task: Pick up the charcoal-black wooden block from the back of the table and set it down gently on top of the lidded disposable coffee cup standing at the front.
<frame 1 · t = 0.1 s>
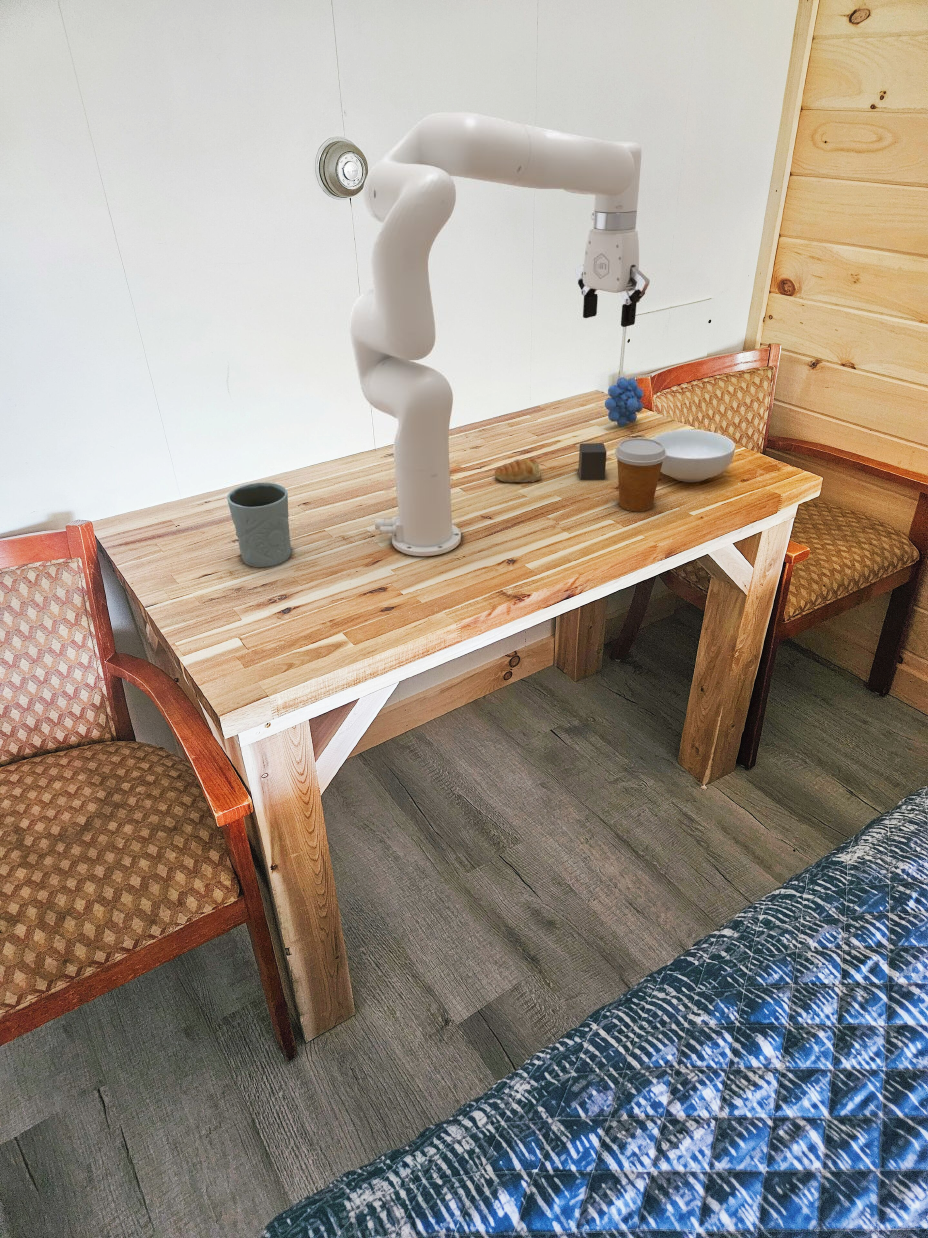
hand: (608, 320, 155), 31 cm above the table, tool pointing down, fingers open, 9 cm apart
disposable coffee cup: (635, 505, 160), on the table
cereal bowl: (687, 475, 171), on the table
grey embossed cup: (268, 556, 146), on the table
black block: (591, 474, 172), on the table
grapes: (625, 428, 196), on the table
pastry: (520, 478, 172), on the table
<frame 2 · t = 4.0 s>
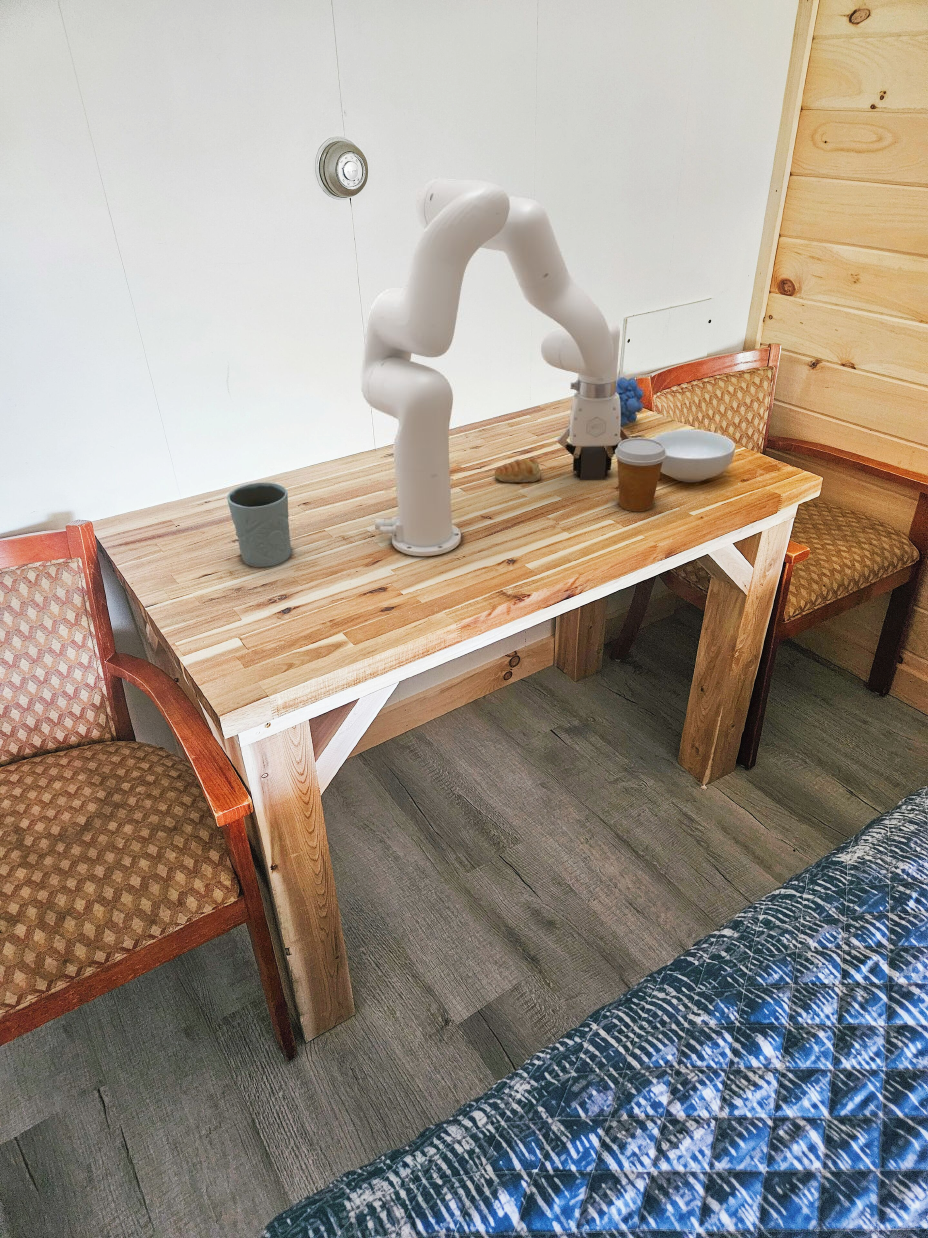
hand: (591, 472, 172), 0 cm above the table, tool pointing down, fingers closed on black block, 5 cm apart
black block: (591, 474, 172), on the table, touching gripper
everything else where it was.
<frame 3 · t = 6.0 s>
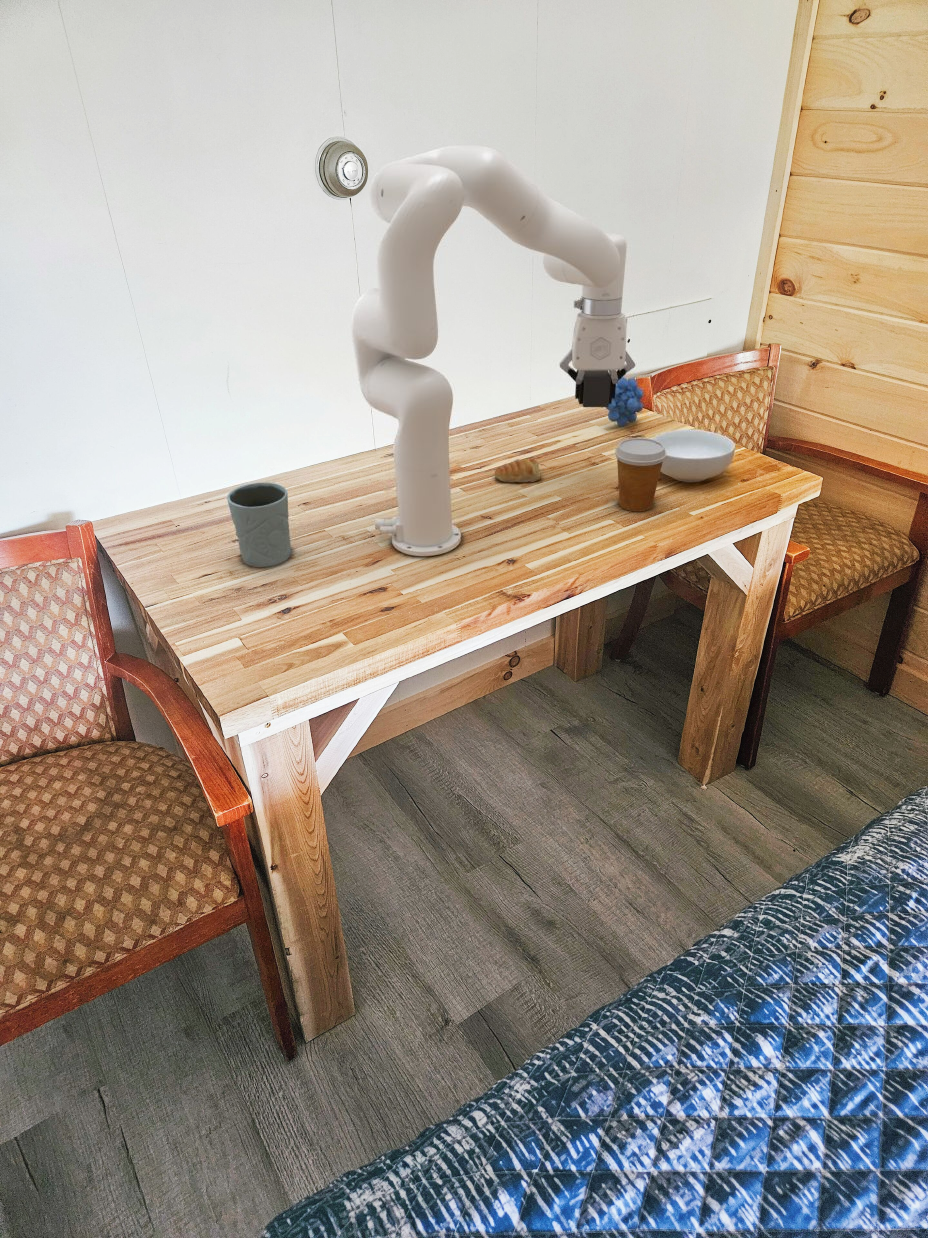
hand: (594, 400, 164), 16 cm above the table, tool pointing down, fingers closed on black block, 5 cm apart
black block: (594, 403, 164), point 15 cm above the table, touching gripper
everything else where it was.
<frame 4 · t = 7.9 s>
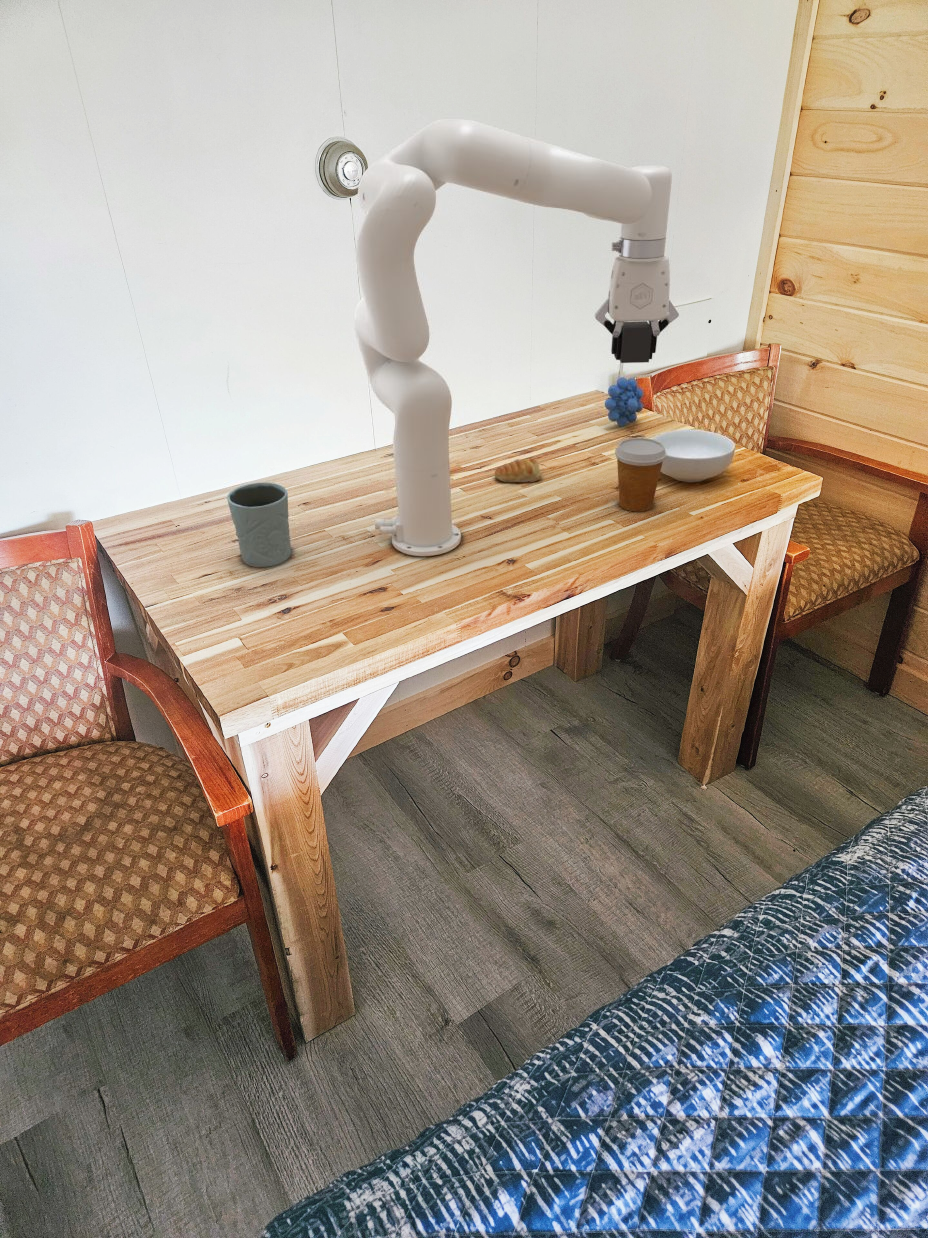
hand: (632, 356, 149), 27 cm above the table, tool pointing down, fingers closed on black block, 5 cm apart
black block: (632, 358, 149), point 27 cm above the table, touching gripper
everything else where it was.
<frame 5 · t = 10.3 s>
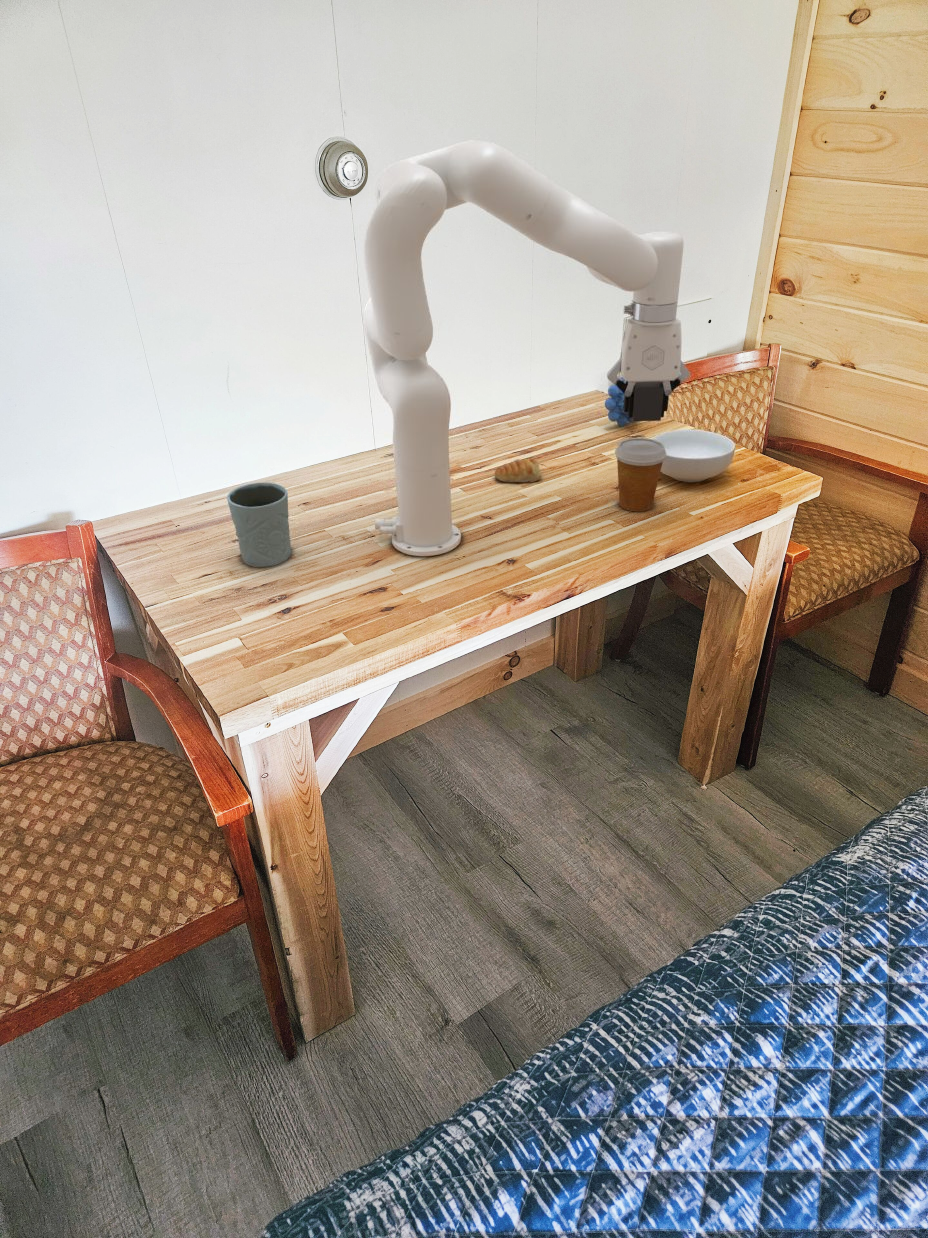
hand: (644, 414, 150), 18 cm above the table, tool pointing down, fingers closed on black block, 5 cm apart
black block: (644, 416, 150), point 18 cm above the table, touching gripper
everything else where it was.
when the fingers open (12 cm above the table, at t = 12.1 s): black block stays where it is, resting on disposable coffee cup.
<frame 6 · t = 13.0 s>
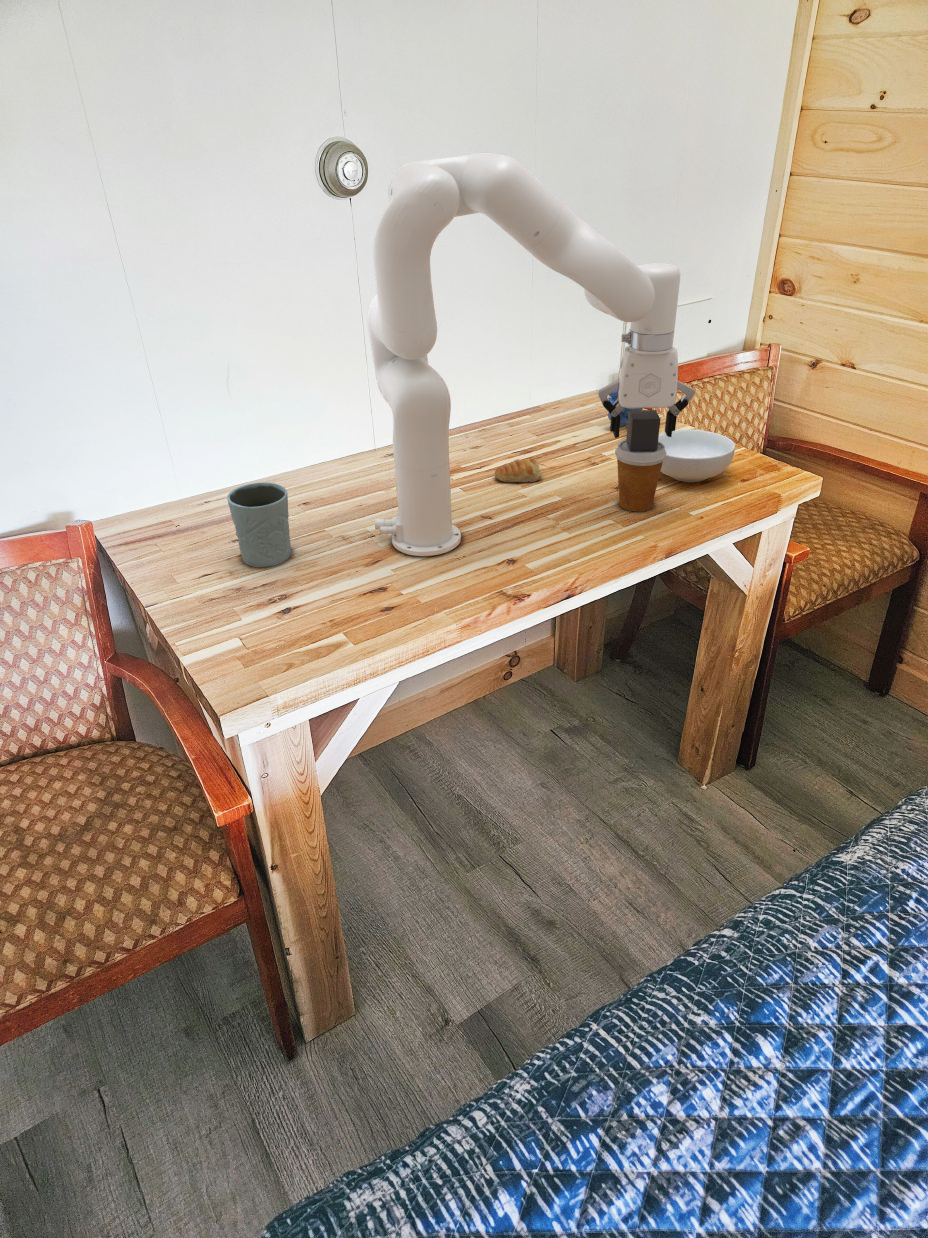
hand: (641, 434, 152), 14 cm above the table, tool pointing down, fingers open, 9 cm apart
disposable coffee cup: (635, 505, 160), on the table, touching black block
black block: (641, 445, 153), point 12 cm above the table, touching disposable coffee cup
everything else where it was.
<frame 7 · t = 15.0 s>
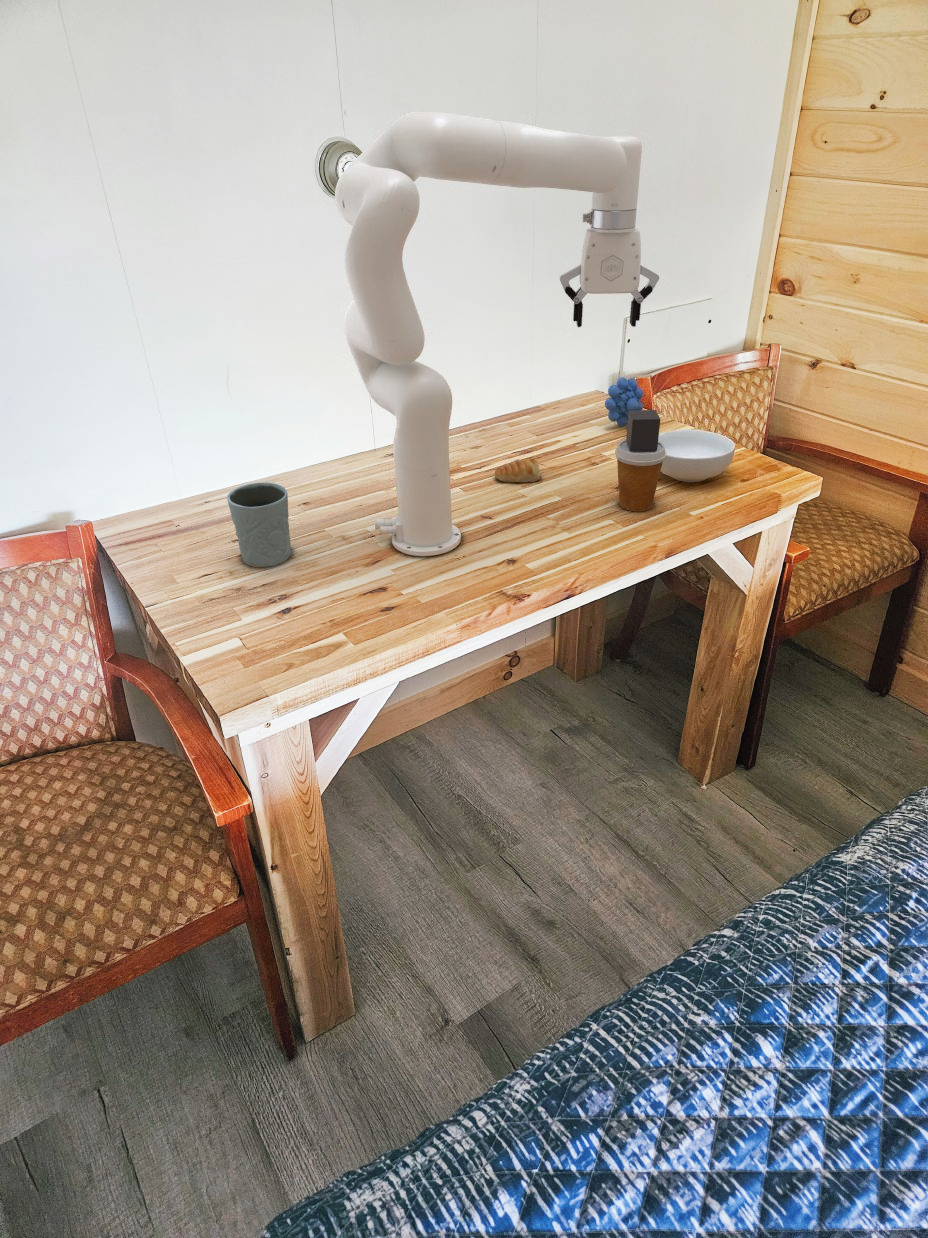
hand: (605, 324, 148), 32 cm above the table, tool pointing down, fingers open, 9 cm apart
nothing on the table moved.
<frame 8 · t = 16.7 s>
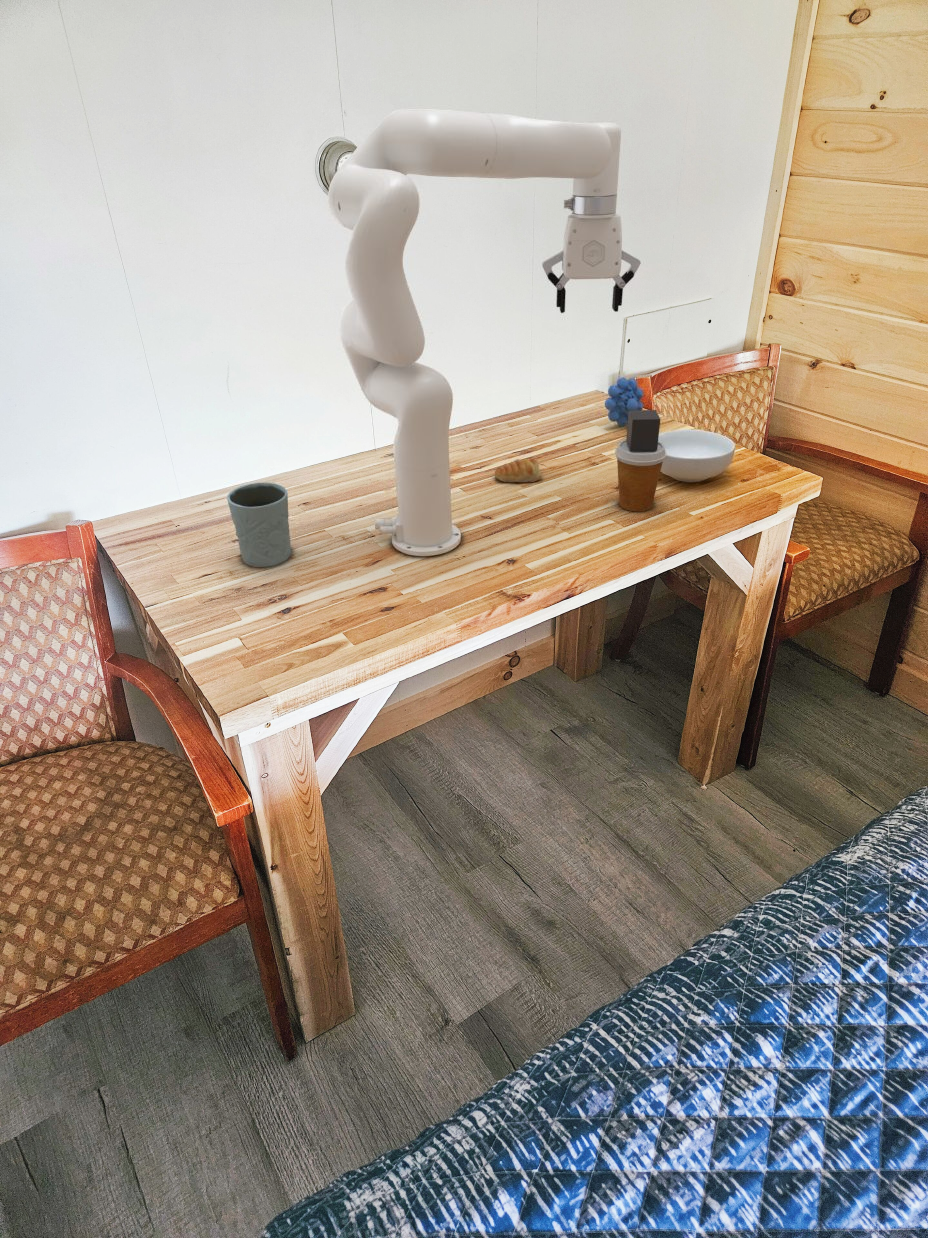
hand: (588, 310, 150), 34 cm above the table, tool pointing down, fingers open, 9 cm apart
nothing on the table moved.
at the end: black block inside the target area on the disposable coffee cup (0.1 cm from its centre), point 12.2 cm above the disposable coffee cup's base; disposable coffee cup tilted 0°; the gripper is holding nothing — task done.
